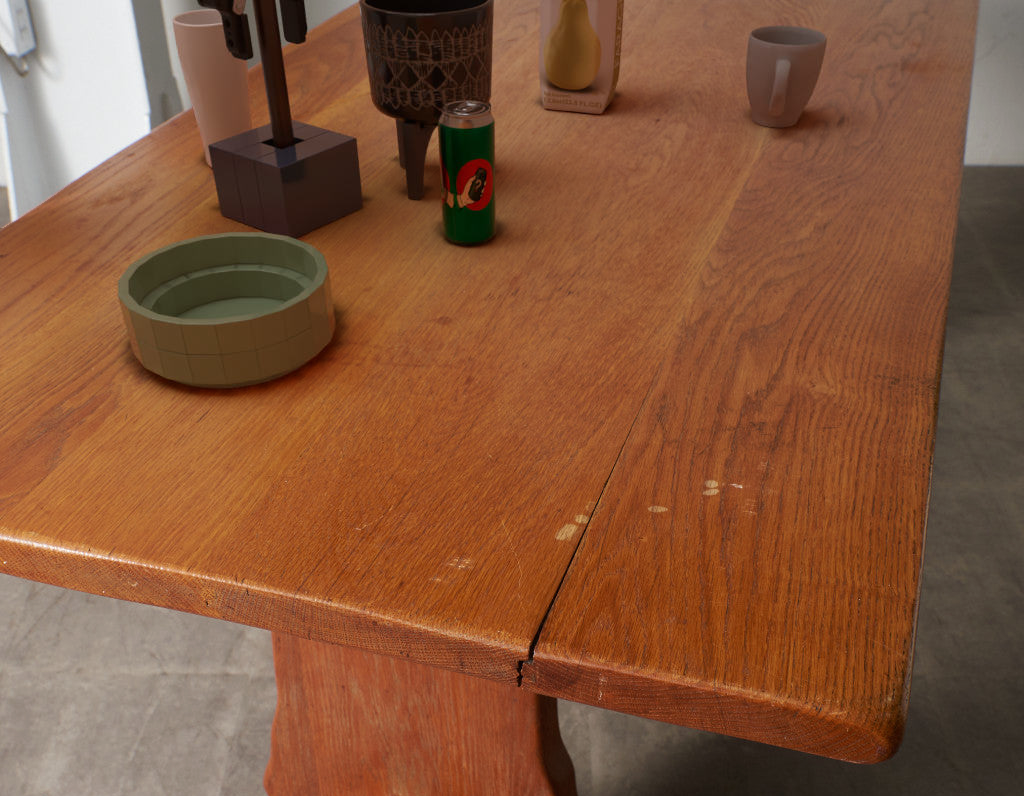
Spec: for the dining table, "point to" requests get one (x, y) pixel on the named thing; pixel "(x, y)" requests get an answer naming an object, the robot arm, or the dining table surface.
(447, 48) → the planter
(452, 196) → the soda can
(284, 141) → the dark brown square rod
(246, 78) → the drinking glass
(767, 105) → the mug
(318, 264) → the bowl
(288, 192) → the holder
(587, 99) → the juice carton
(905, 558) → the dining table surface
